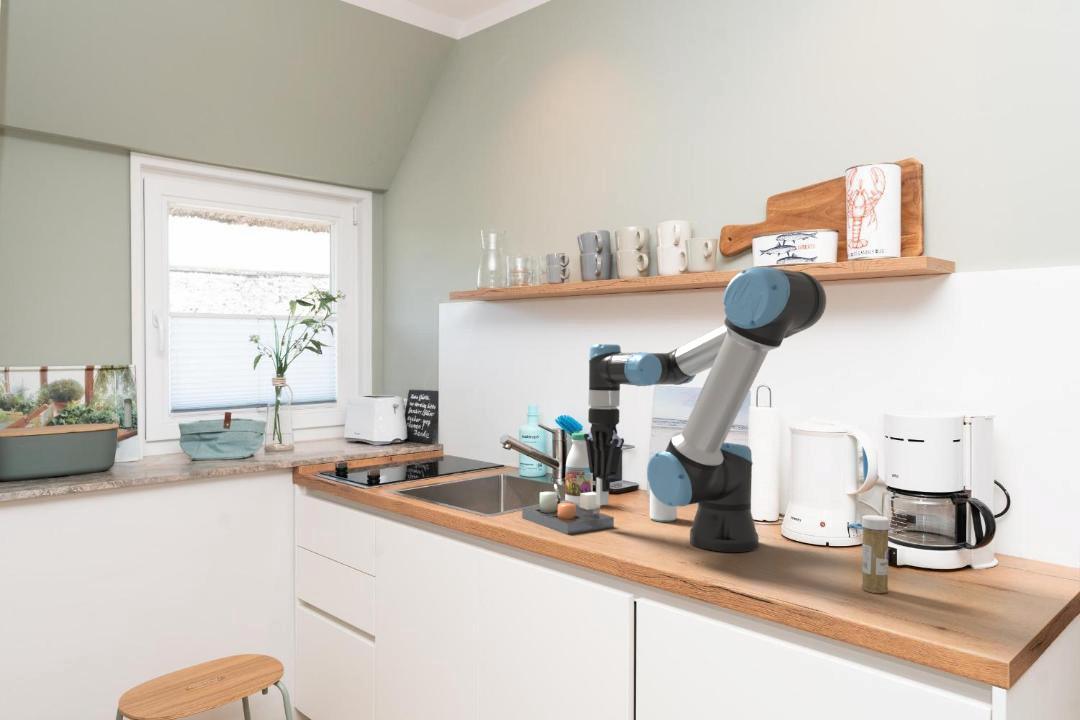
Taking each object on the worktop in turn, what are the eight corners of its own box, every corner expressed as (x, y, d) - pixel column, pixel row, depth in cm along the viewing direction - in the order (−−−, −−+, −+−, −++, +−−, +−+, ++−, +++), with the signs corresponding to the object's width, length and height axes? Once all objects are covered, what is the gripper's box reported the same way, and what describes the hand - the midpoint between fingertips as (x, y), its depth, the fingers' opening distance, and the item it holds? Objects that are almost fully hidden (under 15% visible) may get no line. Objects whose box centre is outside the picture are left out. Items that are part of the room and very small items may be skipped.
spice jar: (889, 595, 130) (890, 520, 130) (861, 592, 132) (862, 518, 131) (887, 588, 134) (888, 515, 134) (860, 585, 136) (861, 513, 136)
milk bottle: (567, 500, 211) (568, 431, 211) (594, 501, 209) (595, 432, 209) (563, 505, 203) (564, 434, 203) (590, 507, 202) (591, 435, 202)
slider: (600, 507, 181) (600, 493, 181) (587, 509, 178) (587, 495, 178) (592, 505, 183) (593, 491, 183) (580, 507, 181) (580, 493, 181)
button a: (579, 523, 177) (579, 505, 177) (564, 525, 175) (564, 507, 175) (568, 520, 181) (568, 502, 181) (554, 522, 179) (554, 504, 179)
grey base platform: (613, 527, 179) (614, 495, 179) (567, 534, 171) (568, 501, 171) (564, 511, 196) (565, 482, 196) (520, 517, 188) (521, 487, 188)
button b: (560, 511, 184) (560, 493, 184) (545, 513, 182) (546, 495, 182) (550, 508, 188) (550, 491, 188) (536, 510, 185) (536, 492, 185)
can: (675, 517, 191) (676, 471, 191) (678, 523, 184) (678, 476, 184) (648, 516, 192) (649, 470, 192) (650, 522, 185) (650, 475, 185)
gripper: (633, 409, 173) (631, 507, 173) (599, 405, 184) (597, 497, 184) (609, 410, 169) (607, 511, 169) (575, 406, 180) (573, 500, 180)
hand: (602, 504), depth 177 cm, fingers closed
